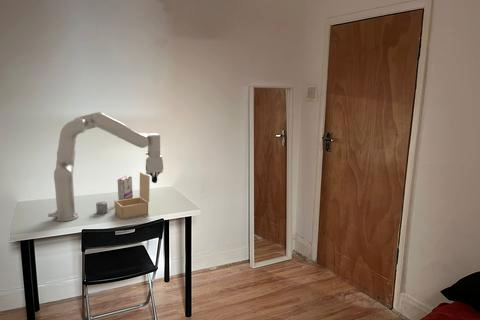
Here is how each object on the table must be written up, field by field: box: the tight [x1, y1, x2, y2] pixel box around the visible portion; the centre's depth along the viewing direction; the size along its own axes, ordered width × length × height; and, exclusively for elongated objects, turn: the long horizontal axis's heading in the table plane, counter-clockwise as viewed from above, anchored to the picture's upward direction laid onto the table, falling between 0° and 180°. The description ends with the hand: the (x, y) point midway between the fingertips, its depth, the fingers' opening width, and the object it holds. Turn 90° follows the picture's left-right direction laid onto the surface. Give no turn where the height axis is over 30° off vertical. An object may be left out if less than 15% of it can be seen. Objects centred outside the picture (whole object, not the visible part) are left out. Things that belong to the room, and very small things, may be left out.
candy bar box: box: [116, 175, 134, 201], centre depth 249 cm, size 11×5×16 cm, turn 168°
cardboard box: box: [114, 196, 149, 221], centre depth 226 cm, size 16×13×8 cm
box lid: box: [139, 171, 151, 203], centre depth 229 cm, size 16×13×1 cm
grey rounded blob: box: [95, 201, 109, 215], centre depth 227 cm, size 6×6×6 cm
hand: (154, 182), depth 233 cm, fingers closed
